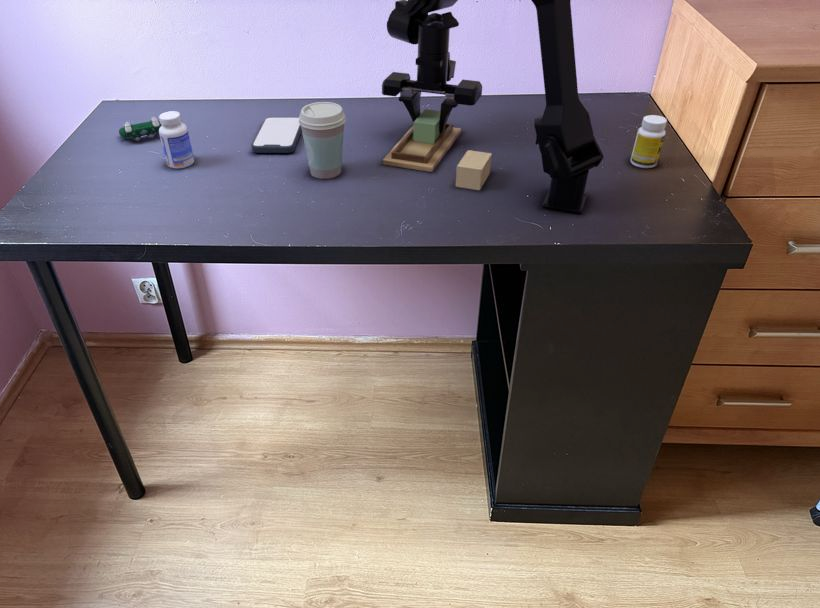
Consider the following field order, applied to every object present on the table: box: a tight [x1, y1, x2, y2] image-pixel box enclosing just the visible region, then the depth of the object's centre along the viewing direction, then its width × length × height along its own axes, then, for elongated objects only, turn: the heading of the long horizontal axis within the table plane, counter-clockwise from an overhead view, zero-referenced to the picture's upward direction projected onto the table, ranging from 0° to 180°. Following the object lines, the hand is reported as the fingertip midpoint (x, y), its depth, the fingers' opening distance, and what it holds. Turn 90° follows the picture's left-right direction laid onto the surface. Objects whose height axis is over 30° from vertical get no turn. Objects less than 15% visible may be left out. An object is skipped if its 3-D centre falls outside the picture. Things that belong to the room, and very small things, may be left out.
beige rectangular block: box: [455, 149, 493, 191], centre depth 119 cm, size 7×4×4 cm, turn 157°
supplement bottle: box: [629, 114, 668, 169], centre depth 121 cm, size 5×5×8 cm
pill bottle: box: [158, 110, 195, 170], centre depth 127 cm, size 5×5×10 cm
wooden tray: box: [382, 122, 462, 173], centre depth 131 cm, size 19×10×2 cm, turn 157°
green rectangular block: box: [413, 108, 445, 144], centre depth 132 cm, size 7×4×4 cm, turn 157°
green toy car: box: [118, 116, 162, 142], centre depth 139 cm, size 9×4×6 cm
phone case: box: [251, 116, 302, 154], centre depth 137 cm, size 9×2×16 cm
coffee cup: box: [298, 101, 347, 180], centre depth 121 cm, size 9×8×12 cm
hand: (429, 131), depth 133 cm, fingers closed on green rectangular block, 4 cm apart
